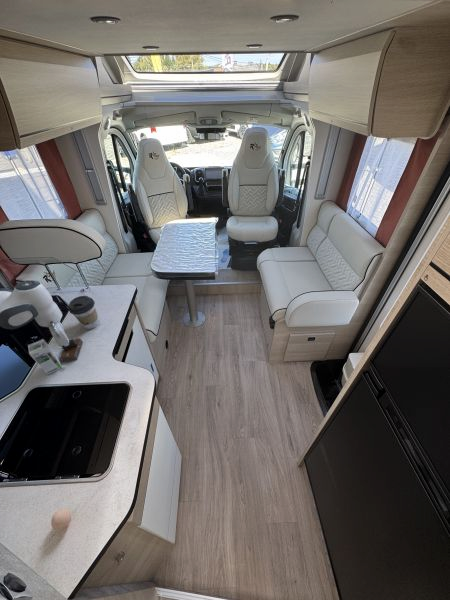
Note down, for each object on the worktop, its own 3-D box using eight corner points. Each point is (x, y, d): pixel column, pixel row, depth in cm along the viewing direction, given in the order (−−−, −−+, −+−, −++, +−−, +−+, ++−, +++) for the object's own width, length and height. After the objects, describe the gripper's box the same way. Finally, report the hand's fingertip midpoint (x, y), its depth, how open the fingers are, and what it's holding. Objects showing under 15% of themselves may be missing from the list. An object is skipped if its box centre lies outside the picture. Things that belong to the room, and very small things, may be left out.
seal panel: (81, 359, 112) (78, 354, 109) (59, 362, 111) (55, 358, 109) (86, 341, 119) (83, 337, 117) (66, 344, 118) (62, 340, 116)
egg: (66, 533, 69) (56, 531, 65) (53, 527, 70) (42, 524, 66) (77, 513, 72) (69, 509, 68) (64, 508, 73) (55, 504, 69)
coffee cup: (75, 332, 124) (61, 310, 114) (86, 315, 132) (74, 293, 122) (97, 332, 123) (85, 310, 113) (107, 316, 131) (96, 294, 121)
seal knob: (75, 343, 114) (72, 338, 112) (76, 345, 113) (73, 340, 111) (63, 349, 112) (60, 344, 110) (64, 351, 111) (61, 346, 109)
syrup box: (47, 375, 106) (28, 354, 96) (45, 365, 110) (27, 344, 100) (62, 368, 108) (45, 347, 99) (59, 359, 112) (43, 337, 102)
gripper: (64, 326, 95) (78, 349, 105) (50, 299, 107) (65, 321, 116) (45, 335, 92) (62, 357, 102) (34, 305, 104) (50, 328, 113)
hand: (63, 338), depth 109 cm, fingers open, 8 cm apart
